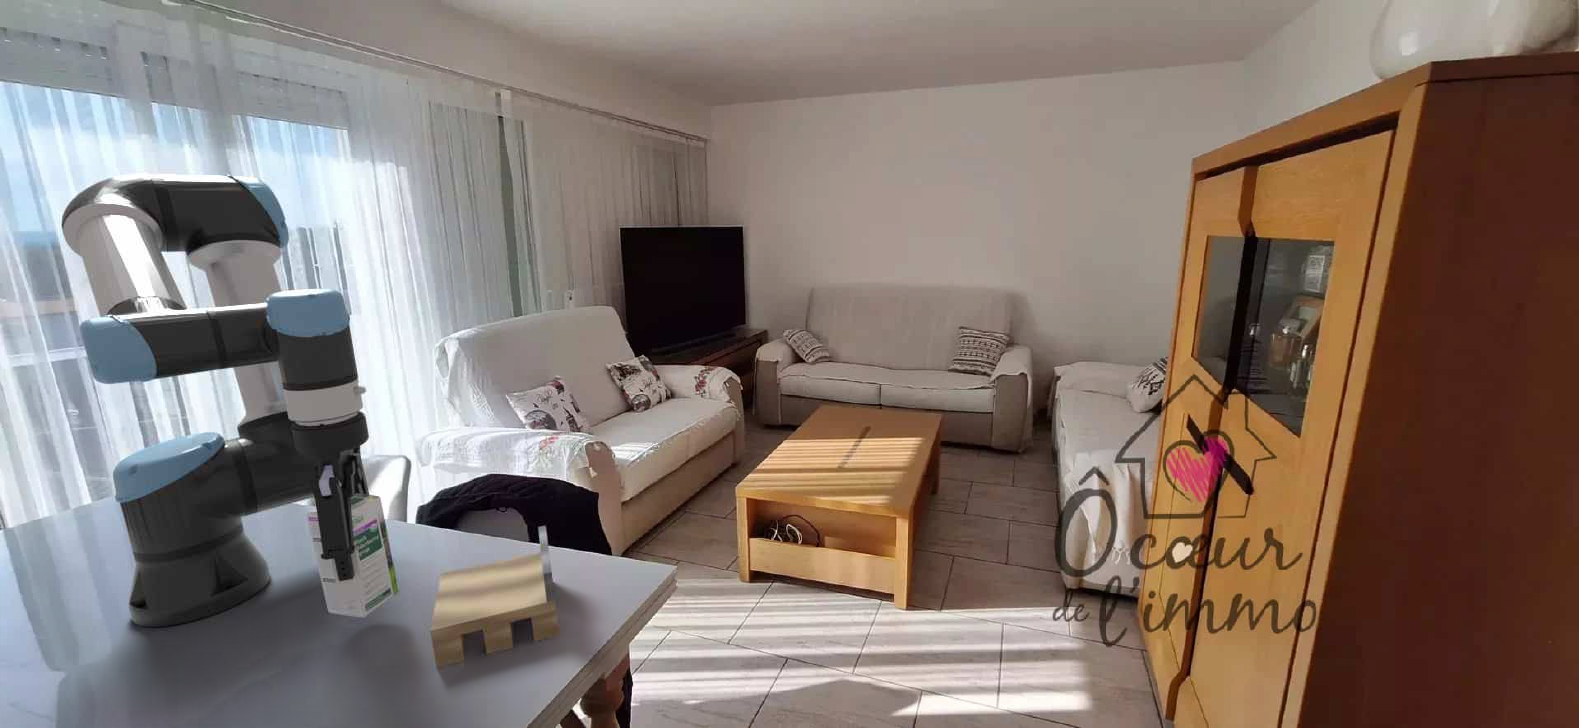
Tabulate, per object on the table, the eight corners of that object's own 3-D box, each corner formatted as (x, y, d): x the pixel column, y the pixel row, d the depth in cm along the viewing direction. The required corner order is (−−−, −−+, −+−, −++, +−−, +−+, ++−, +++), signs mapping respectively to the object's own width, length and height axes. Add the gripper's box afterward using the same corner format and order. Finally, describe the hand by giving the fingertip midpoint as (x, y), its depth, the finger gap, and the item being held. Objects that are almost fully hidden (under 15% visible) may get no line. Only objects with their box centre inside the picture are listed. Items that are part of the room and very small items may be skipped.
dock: (446, 605, 89) (436, 547, 87) (552, 581, 94) (545, 525, 92) (436, 667, 76) (424, 600, 74) (559, 635, 82) (551, 571, 80)
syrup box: (364, 619, 81) (344, 514, 78) (325, 613, 82) (304, 510, 79) (399, 593, 86) (382, 494, 83) (363, 588, 88) (344, 491, 84)
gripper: (345, 437, 70) (379, 618, 76) (378, 391, 89) (403, 540, 94) (262, 448, 68) (303, 635, 73) (313, 398, 86) (343, 551, 91)
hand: (359, 581), depth 83 cm, fingers closed on syrup box, 7 cm apart
